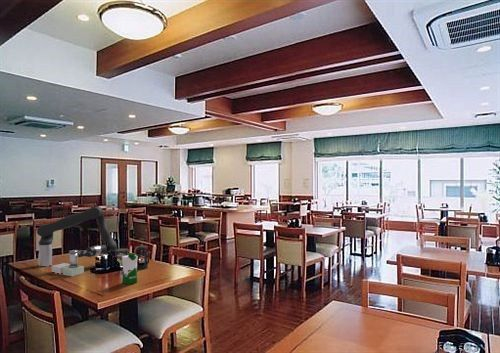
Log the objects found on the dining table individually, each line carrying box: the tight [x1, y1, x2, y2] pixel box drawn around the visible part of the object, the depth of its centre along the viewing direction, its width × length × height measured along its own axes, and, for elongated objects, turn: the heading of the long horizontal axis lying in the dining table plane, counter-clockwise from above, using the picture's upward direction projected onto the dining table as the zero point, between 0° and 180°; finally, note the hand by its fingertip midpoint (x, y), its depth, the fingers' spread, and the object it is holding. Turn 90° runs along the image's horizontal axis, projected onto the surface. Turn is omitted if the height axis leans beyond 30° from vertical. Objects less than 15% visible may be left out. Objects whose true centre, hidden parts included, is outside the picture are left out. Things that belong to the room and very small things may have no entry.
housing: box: [68, 249, 79, 268], centre depth 261 cm, size 6×6×12 cm
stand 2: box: [62, 264, 85, 277], centre depth 261 cm, size 10×10×5 cm
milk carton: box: [121, 252, 138, 286], centre depth 239 cm, size 9×9×20 cm
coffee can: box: [114, 247, 130, 266], centre depth 280 cm, size 10×10×14 cm
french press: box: [135, 238, 150, 271], centre depth 278 cm, size 12×9×23 cm
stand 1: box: [51, 262, 70, 275], centre depth 267 cm, size 10×10×5 cm
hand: (74, 255), depth 262 cm, fingers open, 8 cm apart
